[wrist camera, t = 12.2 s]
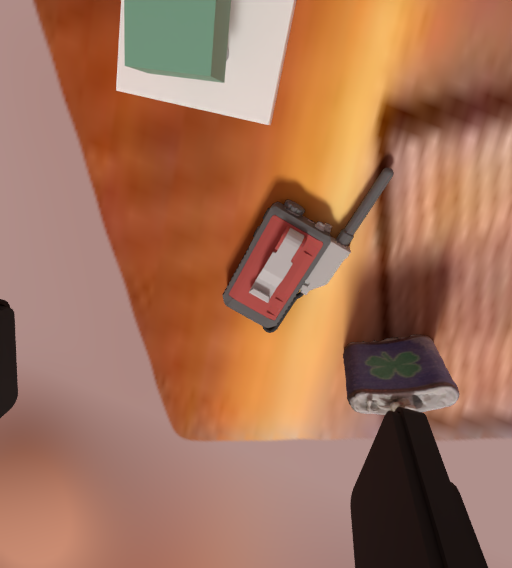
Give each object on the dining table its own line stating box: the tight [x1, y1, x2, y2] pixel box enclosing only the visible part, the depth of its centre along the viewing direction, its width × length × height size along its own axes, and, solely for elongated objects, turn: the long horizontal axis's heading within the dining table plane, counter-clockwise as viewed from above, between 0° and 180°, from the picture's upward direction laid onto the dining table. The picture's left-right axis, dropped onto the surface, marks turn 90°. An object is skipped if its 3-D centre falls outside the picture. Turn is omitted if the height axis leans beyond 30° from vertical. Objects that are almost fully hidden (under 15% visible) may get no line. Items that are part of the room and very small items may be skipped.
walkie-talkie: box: [223, 168, 393, 333], centre depth 37 cm, size 9×4×20 cm
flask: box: [343, 335, 459, 415], centre depth 37 cm, size 9×3×11 cm, turn 103°
